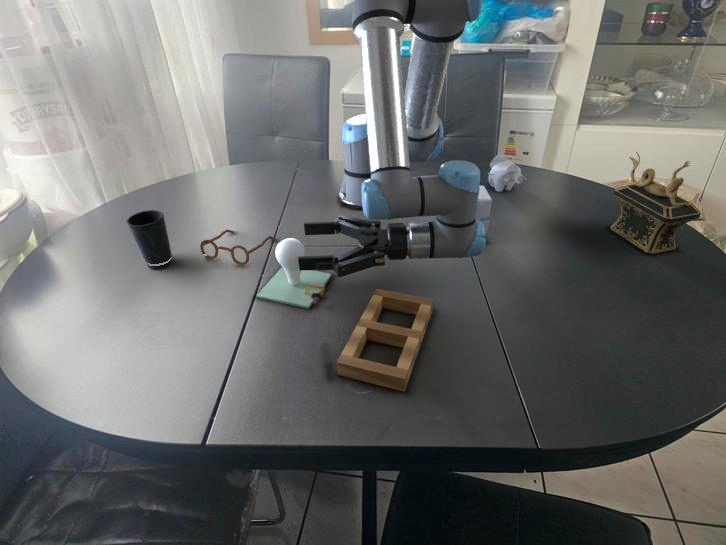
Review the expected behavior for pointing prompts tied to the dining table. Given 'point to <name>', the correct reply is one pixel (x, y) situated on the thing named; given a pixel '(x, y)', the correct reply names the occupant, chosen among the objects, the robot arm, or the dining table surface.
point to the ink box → (483, 208)
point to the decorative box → (652, 211)
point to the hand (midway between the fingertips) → (301, 245)
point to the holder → (386, 340)
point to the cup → (151, 237)
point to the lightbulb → (290, 258)
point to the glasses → (231, 248)
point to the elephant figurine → (504, 174)
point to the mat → (294, 288)
